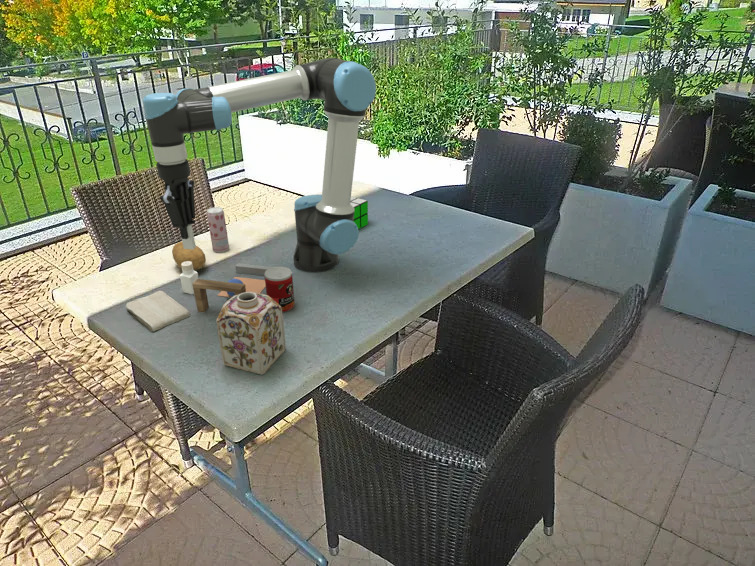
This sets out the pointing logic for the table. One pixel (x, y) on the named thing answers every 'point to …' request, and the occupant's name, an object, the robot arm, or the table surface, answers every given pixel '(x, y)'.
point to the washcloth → (157, 310)
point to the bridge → (202, 285)
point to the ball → (234, 282)
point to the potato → (188, 256)
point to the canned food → (280, 286)
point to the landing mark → (248, 286)
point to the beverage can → (218, 229)
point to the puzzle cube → (360, 211)
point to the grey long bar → (251, 269)
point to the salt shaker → (188, 277)
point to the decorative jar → (251, 332)
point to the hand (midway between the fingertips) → (189, 247)
